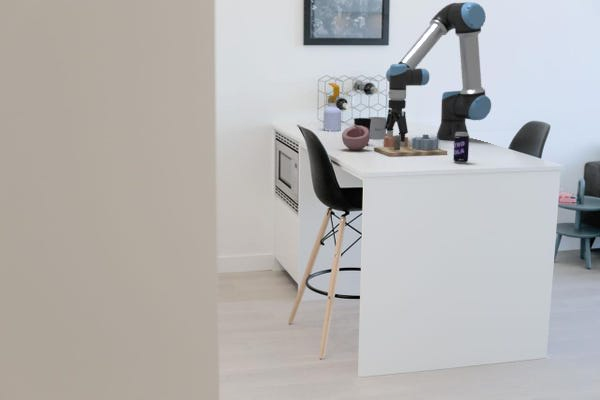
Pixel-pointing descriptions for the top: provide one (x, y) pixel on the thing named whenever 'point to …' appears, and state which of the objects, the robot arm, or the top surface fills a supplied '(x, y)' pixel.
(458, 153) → the beverage can
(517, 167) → the top surface
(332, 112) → the soap bottle
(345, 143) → the mortar and pestle
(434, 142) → the seated gear
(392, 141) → the loose gear
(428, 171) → the top surface
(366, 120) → the cup
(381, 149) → the gear board
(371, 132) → the mug
